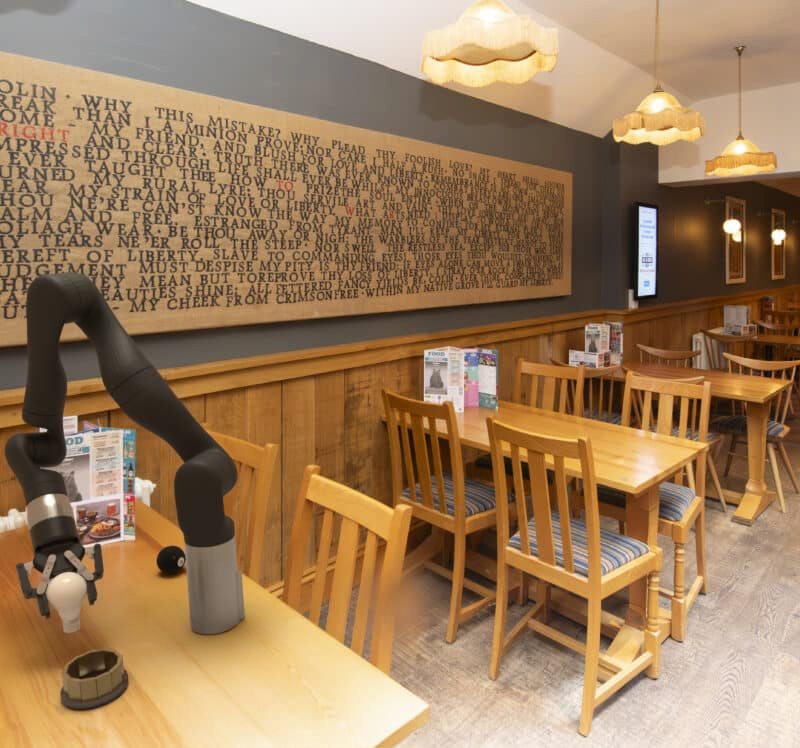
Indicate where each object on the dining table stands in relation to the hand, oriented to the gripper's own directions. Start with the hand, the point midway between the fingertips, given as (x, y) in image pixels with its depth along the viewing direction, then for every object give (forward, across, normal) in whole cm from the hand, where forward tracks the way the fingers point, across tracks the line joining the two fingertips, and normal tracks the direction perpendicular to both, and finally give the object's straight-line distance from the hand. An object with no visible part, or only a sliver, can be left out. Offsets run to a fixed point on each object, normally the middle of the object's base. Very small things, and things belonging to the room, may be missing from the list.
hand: (70, 609), depth 113 cm
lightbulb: (+3, 0, +5) cm, 5 cm away
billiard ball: (-10, +23, +23) cm, 34 cm away
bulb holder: (+15, +1, -1) cm, 15 cm away
